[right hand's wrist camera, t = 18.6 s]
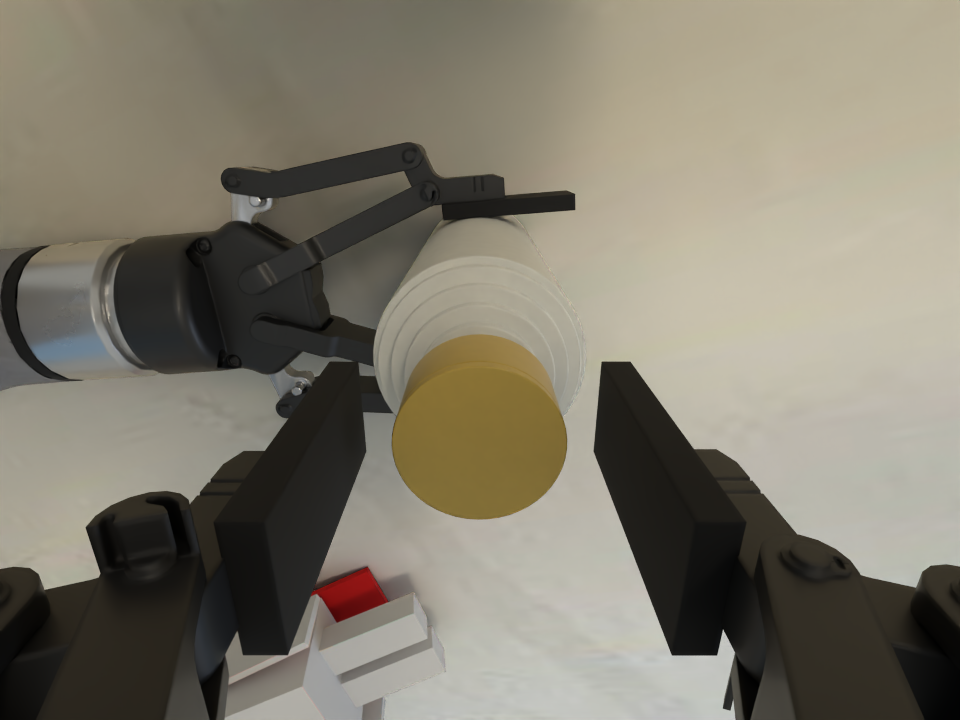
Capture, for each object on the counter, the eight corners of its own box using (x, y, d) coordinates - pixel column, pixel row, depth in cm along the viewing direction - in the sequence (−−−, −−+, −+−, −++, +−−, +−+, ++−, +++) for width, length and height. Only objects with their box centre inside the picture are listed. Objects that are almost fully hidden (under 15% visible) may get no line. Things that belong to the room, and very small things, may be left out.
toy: (464, 752, 38) (71, 912, 38) (450, 610, 50) (156, 729, 50) (395, 632, 34) (-45, 810, 33) (399, 511, 46) (79, 640, 46)
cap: (438, 309, 14) (431, 337, 11) (580, 369, 14) (598, 407, 12) (383, 438, 15) (366, 485, 13) (515, 488, 16) (521, 541, 13)
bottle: (551, 228, 34) (678, 360, 12) (508, 326, 36) (551, 583, 15) (447, 186, 33) (385, 248, 11) (411, 289, 35) (302, 505, 14)
